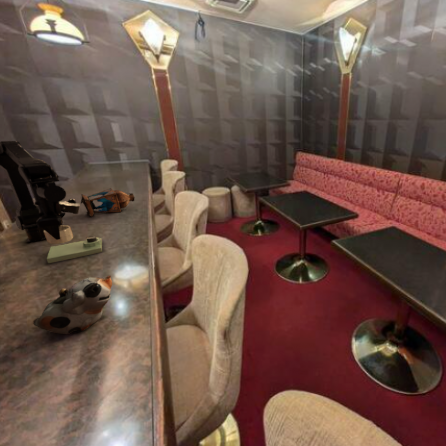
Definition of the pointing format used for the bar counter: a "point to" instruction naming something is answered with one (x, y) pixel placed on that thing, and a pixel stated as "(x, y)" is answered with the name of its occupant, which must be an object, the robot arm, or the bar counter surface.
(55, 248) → the scale
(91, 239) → the tare button
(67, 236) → the bowl
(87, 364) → the bar counter surface
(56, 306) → the lucky cat figurine
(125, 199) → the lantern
